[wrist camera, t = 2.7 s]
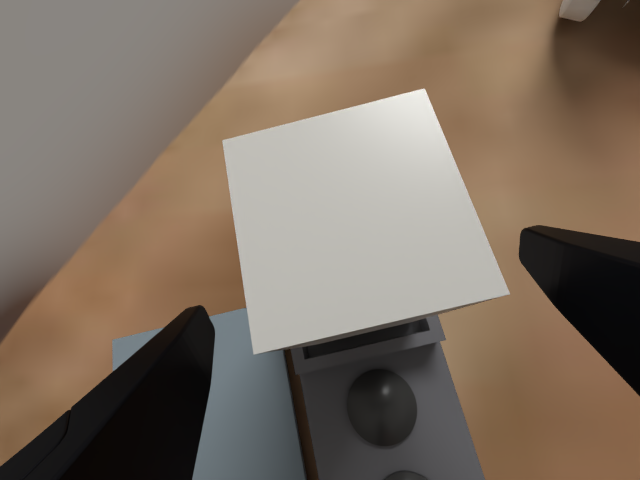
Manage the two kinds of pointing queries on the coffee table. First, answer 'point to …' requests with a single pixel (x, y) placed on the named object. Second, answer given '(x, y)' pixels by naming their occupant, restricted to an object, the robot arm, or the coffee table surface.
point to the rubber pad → (241, 407)
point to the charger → (354, 225)
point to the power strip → (386, 407)
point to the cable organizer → (578, 9)
